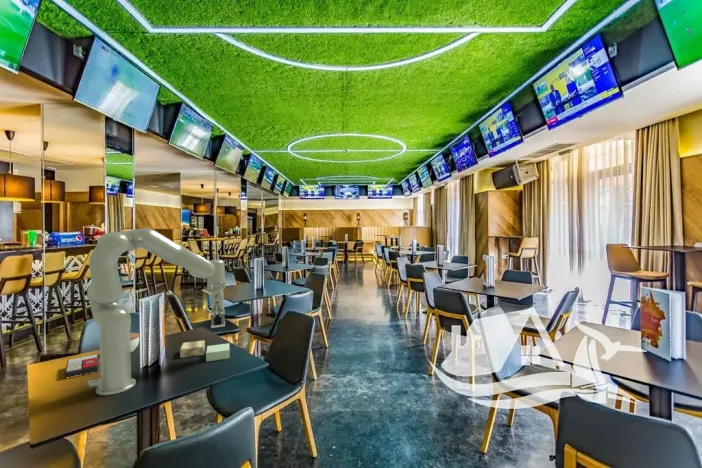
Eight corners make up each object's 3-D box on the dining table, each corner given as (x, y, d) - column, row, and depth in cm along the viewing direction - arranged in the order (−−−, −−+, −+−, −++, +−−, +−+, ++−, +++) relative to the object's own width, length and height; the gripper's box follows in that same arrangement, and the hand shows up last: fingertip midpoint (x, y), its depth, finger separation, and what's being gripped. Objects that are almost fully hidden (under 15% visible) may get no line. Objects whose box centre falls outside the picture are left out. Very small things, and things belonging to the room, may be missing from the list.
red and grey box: (64, 371, 138) (67, 358, 150) (64, 381, 138) (67, 368, 150) (97, 364, 145) (98, 353, 157) (98, 374, 145) (98, 361, 157)
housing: (224, 326, 159) (224, 310, 158) (211, 327, 157) (210, 312, 156) (225, 322, 164) (224, 307, 164) (211, 324, 162) (211, 309, 162)
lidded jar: (144, 348, 173) (144, 330, 173) (124, 356, 163) (123, 337, 163) (130, 346, 177) (129, 328, 177) (109, 353, 167) (108, 334, 167)
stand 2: (206, 361, 154) (206, 353, 154) (207, 354, 163) (207, 346, 163) (229, 358, 157) (229, 349, 157) (229, 351, 167) (229, 343, 167)
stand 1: (180, 357, 159) (180, 349, 159) (183, 350, 169) (183, 342, 169) (203, 354, 163) (203, 346, 163) (204, 348, 172) (204, 340, 172)
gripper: (224, 288, 153) (226, 327, 154) (225, 282, 169) (226, 317, 170) (206, 289, 151) (208, 329, 151) (209, 283, 167) (210, 319, 167)
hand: (218, 322), depth 160 cm, fingers closed on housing, 5 cm apart
